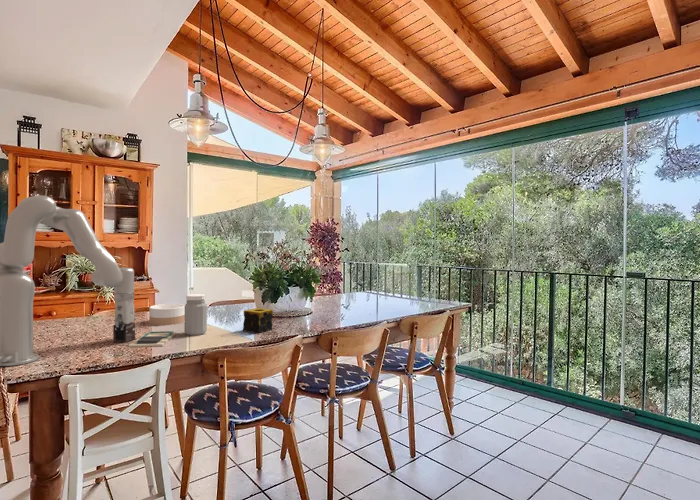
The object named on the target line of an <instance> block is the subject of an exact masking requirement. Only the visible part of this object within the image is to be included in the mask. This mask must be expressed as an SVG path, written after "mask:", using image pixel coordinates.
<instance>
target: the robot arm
mask: <svg viewBox="0 0 700 500" xmlns="http://www.w3.org/2000/svg"><path fill="white" fill-rule="evenodd" d="M40 224H41V225H43V226H47V227H50V228H52V229H57V230H60V231H65V233H66V234H67V236H68V239H70V241H71V243H72V245H73V247H74V250H75V251H76V252H77V253H78V254H79V255H80V256H82V257H84V258H85V259H87V260H88V261H90V262H91V264H92V265H93V266H94V267H95V268H96V269H95V270H93V271H92V273H91V275H90V279H91V282H92V283H93V284H94V285H97V286H99V287H103V288H113V298H114V299H113V301H114V302H115V306H114V325H115V330H116V340H123V339H124V330H123V329H124V325H125V324H129V323H134V321H135V319H136V317H135V302H134V301H135V270H134V268H132V267H119V265H118V263H117V260H115V258H114V256H113V255H112V254H111V253H110V251H109V250H107V249H106V248H105V246H104V245H103V243H101V242H100V240H99V239H98V237H97V235H96V233H95V231H94V229H93V227H92V226H91V223H90V222H89V219H88V218H87V216H86V215H85V213H84V212H83V211H81V210H80V209H77V208H64V207H63V208H62V207H60V206H57V202H56V201H55V199H53V198H52V197H50V196H47V195H35V196H28V197H24V198H23V199H21V201H20V202H19V203H18V205H17V206H16V207H15V208H14V209H13V210H12V211H11V213H10V214H9V216H8V218H7V220H6V225H5V231H4V238H3V242H0V367H12V366H19V365H25V364H28V363H33V362H35V361H37V360H38V359H39V357H40V356H39V354H38V353H34V298H35V292H36V284H35V282H34V279H33V278H32V277H31V276H30V275H29V274H28V273H24V268H26V267H29V266H30V265H31V264H32V262H33V261H34V258H35V245H36V244H35V243H36V234H37V229H38V227H39V226H40ZM121 325H122V327H121Z"/></svg>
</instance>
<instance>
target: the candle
mask: <svg viewBox="0 0 700 500" xmlns="http://www.w3.org/2000/svg"><path fill="white" fill-rule="evenodd" d="M243 319H244V320H243V323H242V325H243V326H242V329H243V330H242V331H243V332H248V333H255V334H262V333H265V332H269V331H271V330H273V309H268V308H263V307H262V308H259V307H255V308H250V309H245V310H243Z"/></svg>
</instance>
